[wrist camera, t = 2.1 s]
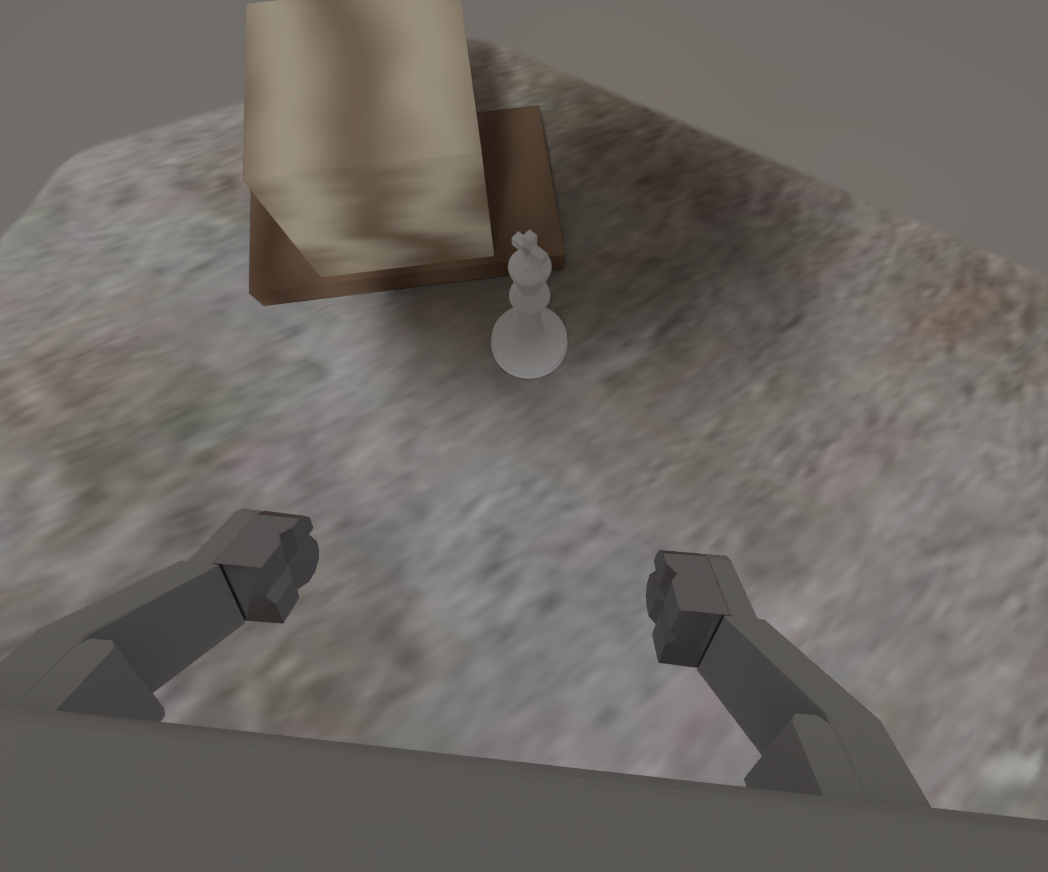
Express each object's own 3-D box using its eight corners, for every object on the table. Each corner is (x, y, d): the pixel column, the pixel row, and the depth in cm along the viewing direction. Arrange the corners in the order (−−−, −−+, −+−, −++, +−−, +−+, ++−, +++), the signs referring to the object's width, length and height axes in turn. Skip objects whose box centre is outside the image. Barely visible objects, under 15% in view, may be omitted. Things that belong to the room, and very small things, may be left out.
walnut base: (538, 125, 31) (542, -36, 22) (563, 268, 28) (579, 149, 20) (264, 157, 31) (159, 6, 22) (263, 305, 28) (142, 201, 19)
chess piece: (525, 294, 28) (524, 166, 18) (583, 339, 27) (614, 230, 17) (475, 346, 27) (445, 240, 17) (533, 394, 26) (536, 312, 17)
